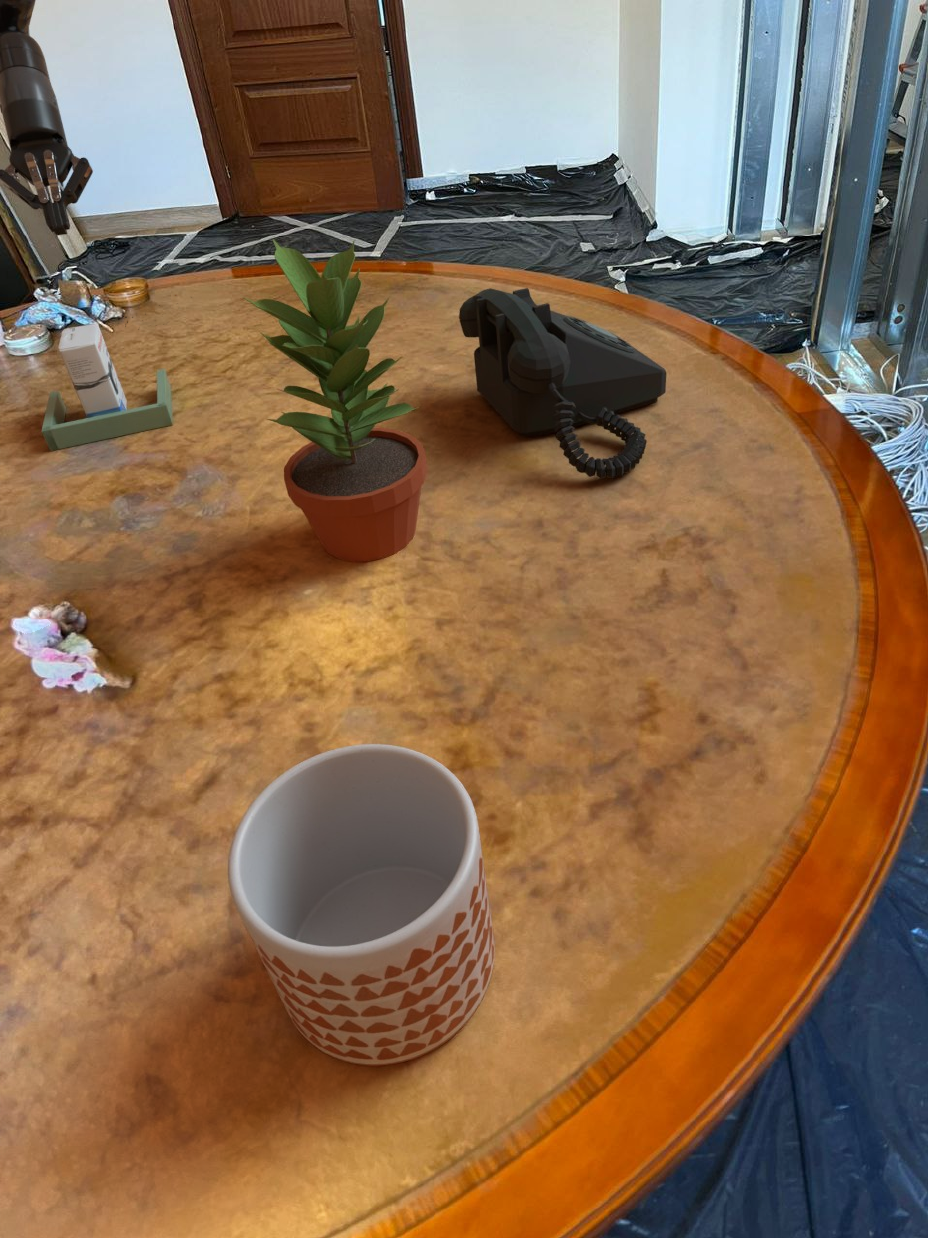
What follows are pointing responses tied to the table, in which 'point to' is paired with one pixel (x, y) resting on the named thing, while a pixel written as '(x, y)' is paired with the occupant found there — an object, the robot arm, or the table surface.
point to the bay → (106, 420)
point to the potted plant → (345, 418)
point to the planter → (367, 901)
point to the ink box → (91, 370)
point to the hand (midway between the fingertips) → (59, 231)
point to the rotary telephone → (559, 375)
